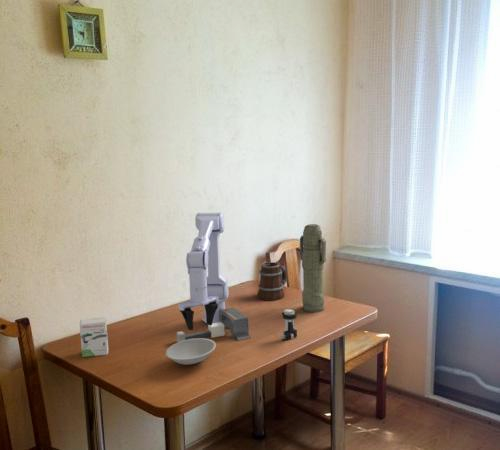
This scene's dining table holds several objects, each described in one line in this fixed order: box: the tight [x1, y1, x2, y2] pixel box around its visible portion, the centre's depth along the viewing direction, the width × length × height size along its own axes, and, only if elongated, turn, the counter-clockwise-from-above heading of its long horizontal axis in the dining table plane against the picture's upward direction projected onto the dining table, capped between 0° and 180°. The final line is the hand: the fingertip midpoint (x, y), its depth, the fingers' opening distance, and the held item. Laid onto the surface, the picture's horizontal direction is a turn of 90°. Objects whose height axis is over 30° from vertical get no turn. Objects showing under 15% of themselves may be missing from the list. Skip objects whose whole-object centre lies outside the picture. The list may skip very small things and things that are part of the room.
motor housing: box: [219, 307, 252, 341], centre depth 190 cm, size 18×6×7 cm, turn 26°
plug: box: [176, 322, 226, 343], centre depth 185 cm, size 4×17×4 cm, turn 116°
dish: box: [165, 338, 217, 366], centre depth 164 cm, size 18×14×5 cm
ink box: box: [79, 316, 109, 358], centre depth 174 cm, size 9×5×12 cm, turn 103°
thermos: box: [299, 223, 327, 313], centre depth 210 cm, size 9×12×35 cm
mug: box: [257, 261, 288, 302], centre depth 231 cm, size 16×12×15 cm
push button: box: [280, 308, 298, 341], centre depth 182 cm, size 7×5×10 cm
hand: (199, 327), depth 171 cm, fingers open, 7 cm apart
